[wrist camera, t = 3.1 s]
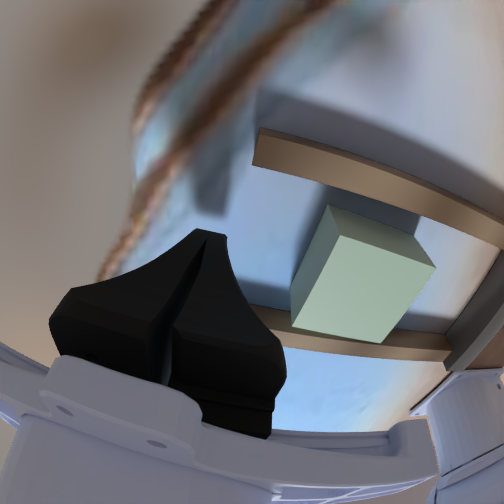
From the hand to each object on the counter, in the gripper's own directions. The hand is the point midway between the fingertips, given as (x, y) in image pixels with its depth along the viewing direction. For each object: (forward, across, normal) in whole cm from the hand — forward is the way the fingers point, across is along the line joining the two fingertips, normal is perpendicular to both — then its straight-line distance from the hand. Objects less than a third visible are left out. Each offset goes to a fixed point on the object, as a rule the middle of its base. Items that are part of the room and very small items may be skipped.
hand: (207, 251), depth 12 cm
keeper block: (+2, -7, 0) cm, 7 cm away
